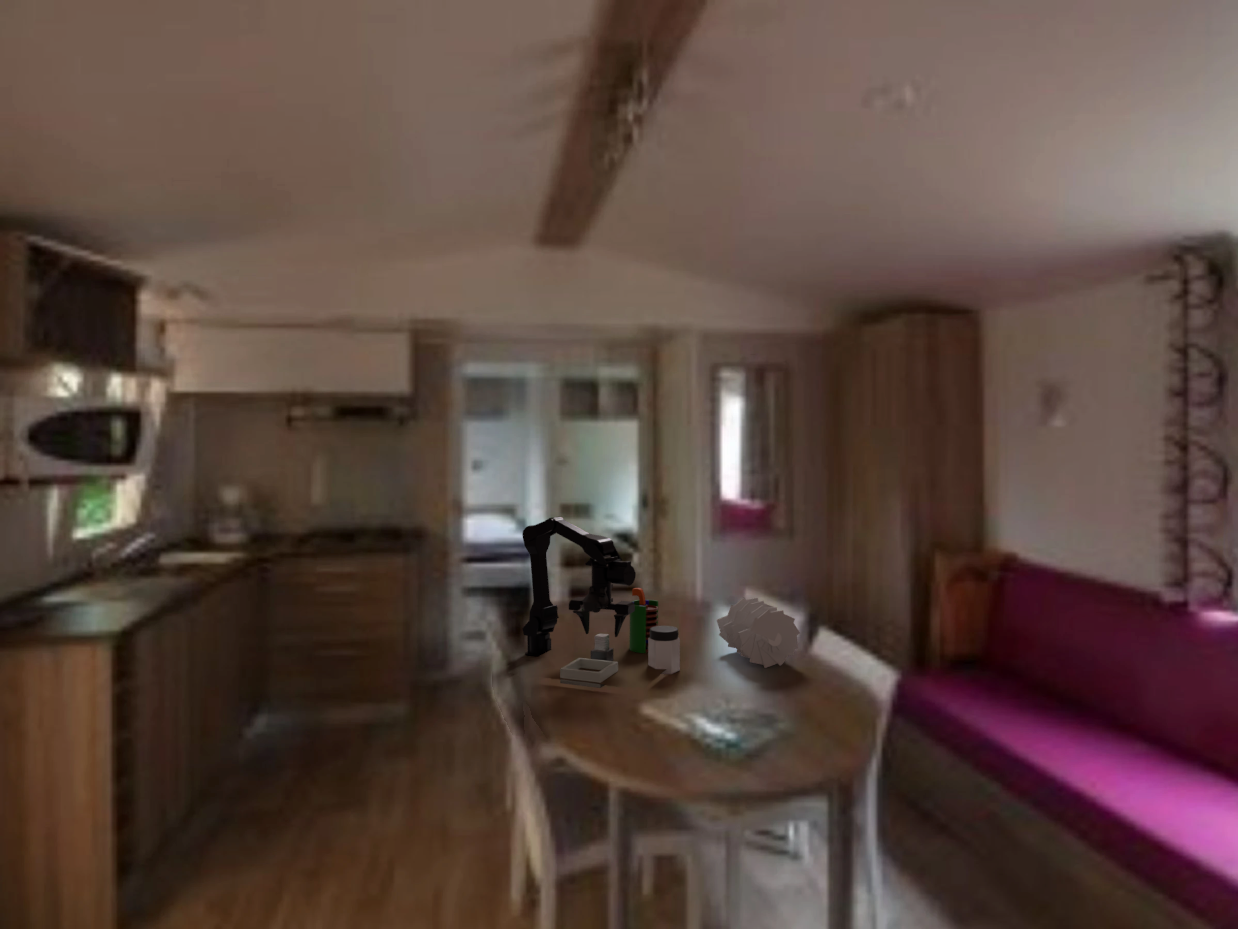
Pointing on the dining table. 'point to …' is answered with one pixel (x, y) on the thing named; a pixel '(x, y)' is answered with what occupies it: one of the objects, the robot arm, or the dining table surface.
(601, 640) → the grey square peg
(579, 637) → the dining table surface
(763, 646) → the spiral staircase
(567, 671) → the bin
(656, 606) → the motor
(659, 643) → the jar
